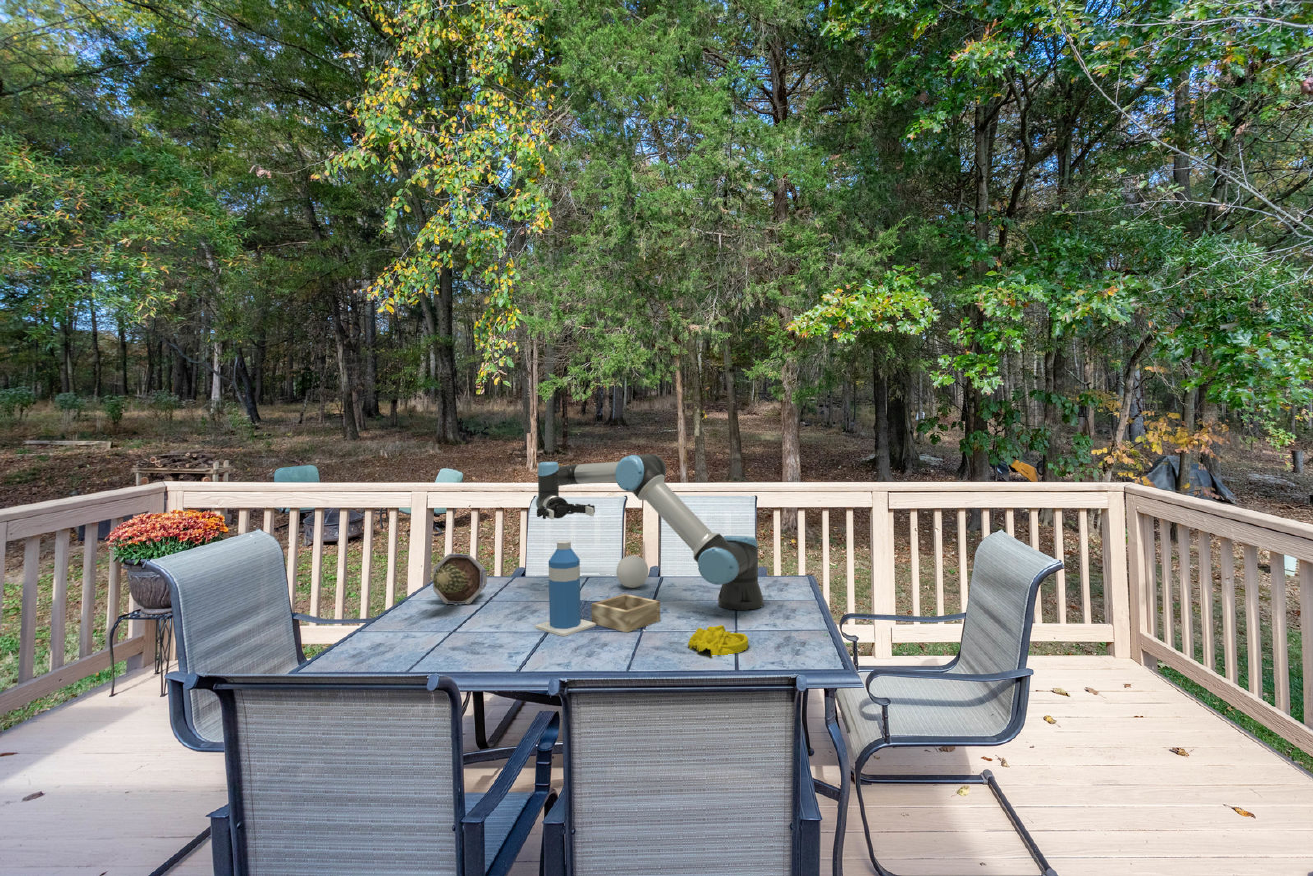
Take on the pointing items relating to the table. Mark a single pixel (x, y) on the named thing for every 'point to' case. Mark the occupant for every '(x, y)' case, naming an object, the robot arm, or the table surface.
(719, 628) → the door knocker
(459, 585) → the potted plant
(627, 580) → the decorative ball
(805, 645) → the table surface
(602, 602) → the holder collar
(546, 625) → the plate
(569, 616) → the water bottle
